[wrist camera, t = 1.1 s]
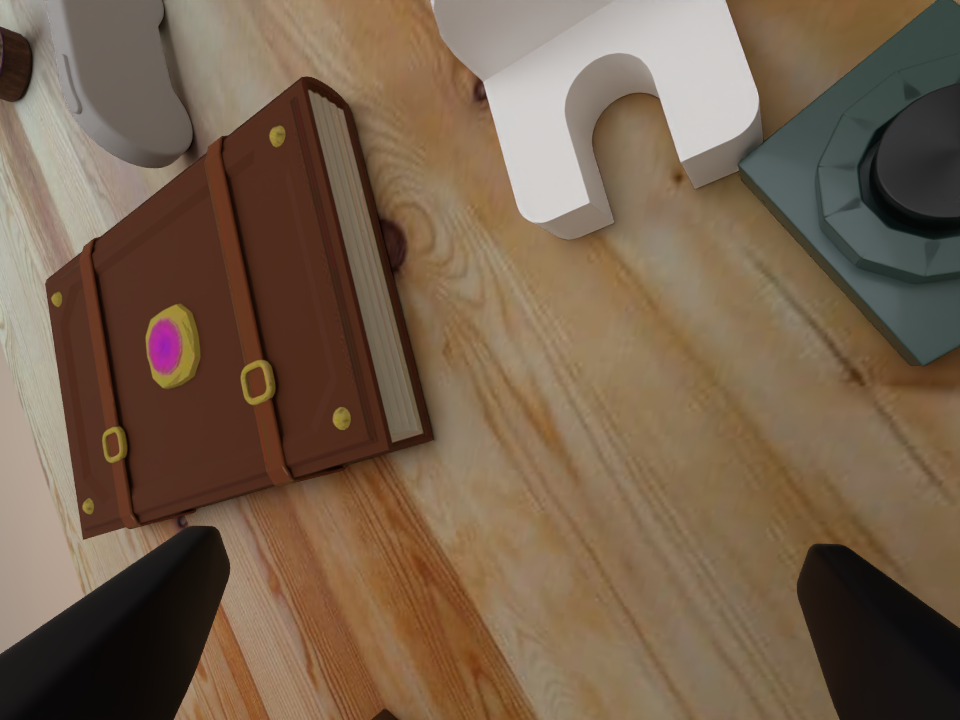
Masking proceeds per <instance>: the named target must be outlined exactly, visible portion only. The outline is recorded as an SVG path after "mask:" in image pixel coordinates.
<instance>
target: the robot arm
mask: <svg viewBox="0 0 960 720" xmlns="http://www.w3.org/2000/svg"><path fill="white" fill-rule="evenodd" d="M229 574H230V562H229V559H228V556H227V553H226V550H225V547H224V544H223V541H222V538H221V535H220V532H219V530H218V529H217V528H215V527H213V526H189V527H187V528H185V529H183V530H182V531H180V532H179V533H177V534H176V535H175V536H173V537H172V538H170V539H169V540H167V541H166V542H164V543H163V544H161V545H160V546H158V547H157V548H155V549H154V550H153V551H151V552H150V553H148V554H147V555H145V556H144V557H142V558H141V559H139V560H138V561H136V562H135V563H133V564H132V565H131V566H129V567H128V568H126V569H125V570H123V571H122V572H120V573H119V574H117V575H116V576H114V577H113V578H111V579H110V580H109V581H107V582H106V583H104V584H103V585H101V586H100V587H98V588H97V589H95V590H94V591H92V592H91V593H89V594H88V595H86V596H85V597H84V598H82V599H81V600H79V601H78V602H76V603H75V604H73V605H72V606H70V607H69V608H67V609H66V610H64V611H63V612H62V613H60V614H59V615H57V616H56V617H54V618H53V619H51V620H50V621H48V622H47V623H46V624H44V625H42V626H41V627H40V628H38V629H37V630H35V631H34V632H33V633H31V634H29V635H28V636H26V637H25V638H24V639H22V640H20V641H19V642H18V643H16V644H15V645H13V646H12V647H10V648H9V649H7V650H6V651H4V652H3V653H1V654H0V720H174V718H175V715H176V713H177V711H178V709H179V707H180V705H181V703H182V700H183V698H184V696H185V694H186V692H187V690H188V687H189V685H190V683H191V681H192V678H193V676H194V673H195V671H196V668H197V666H198V663H199V660H200V658H201V655H202V652H203V649H204V646H205V644H206V641H207V638H208V635H209V632H210V630H211V627H212V624H213V621H214V618H215V615H216V613H217V610H218V607H219V604H220V601H221V599H222V596H223V593H224V590H225V587H226V584H227V582H228V578H229ZM797 594H798V599H799V602H800V605H801V608H802V611H803V614H804V617H805V620H806V623H807V626H808V630H809V633H810V636H811V639H812V642H813V645H814V648H815V651H816V654H817V657H818V660H819V663H820V666H821V669H822V672H823V675H824V678H825V681H826V684H827V687H828V690H829V693H830V696H831V699H832V701H833V704H834V707H835V709H836V712H837V714H838V717H839V719H840V720H960V628H958V627H957V626H956V625H954V624H953V623H952V622H950V621H949V620H947V619H946V618H945V617H943V616H942V615H941V614H939V613H938V612H936V611H935V610H934V609H932V608H931V607H929V606H928V605H927V604H925V603H924V602H923V601H921V600H920V599H918V598H917V597H916V596H914V595H913V594H912V593H910V592H909V591H907V590H906V589H905V588H903V587H902V586H900V585H899V584H898V583H896V582H895V581H894V580H892V579H891V578H889V577H888V576H887V575H885V574H884V573H883V572H881V571H880V570H878V569H877V568H876V567H874V566H873V565H871V564H870V563H869V562H867V561H866V560H865V559H863V558H862V557H860V556H859V555H858V554H856V553H855V552H854V551H852V550H851V549H849V548H848V547H846V546H844V545H840V544H814V545H812V546H811V547H810V548H809V550H808V553H807V556H806V558H805V561H804V564H803V567H802V570H801V572H800V575H799V578H798V582H797Z"/></svg>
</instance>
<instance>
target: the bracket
mask: <svg viewBox="0 0 960 720" xmlns="http://www.w3.org/2000/svg"><path fill="white" fill-rule="evenodd" d="M430 1H431V4H432V8H433V12H434V15H435V19H436V22H437V26H438V29H439V32H440V36H441V38H442V39H443V41H444V42H445V43H446V45H447V46H448V47H449V49H450V50H451V51H452V53H453V54H454V55H455V56H456V57H457V58H458V59H459V60H460V61H461V62H462V63H463V64H465V65H466V66H467V67H468V68H469V69H470V70H471V71H472V72H473V73H474V74H475V75H476V76H477V77H479V78H480V79H481V80H482V81H483V83H484V87H485V90H486V94H487V98H488V101H489V105H490V108H491V112H492V116H493V119H494V123H495V127H496V130H497V134H498V138H499V141H500V145H501V149H502V152H503V156H504V160H505V163H506V167H507V171H508V174H509V178H510V182H511V185H512V189H513V192H514V196H515V200H516V203H517V207H518V209H519V211H520V213H521V214H522V216H523V217H524V218H526V219H527V220H529V221H530V222H532V223H534V224H536V225H538V226H539V227H541V228H543V229H545V230H547V231H548V232H550V233H552V234H554V235H556V236H558V237H559V238H562V239H565V240H573V239H576V238H579V237H582V236H584V235H587V234H589V233H591V232H594V231H596V230H599V229H601V228H603V227H606V226H608V225H610V224H613V223H614V219H613V216H612V212H611V209H610V206H609V202H608V199H607V196H606V192H605V189H604V186H603V182H602V179H601V176H600V172H599V169H598V166H597V162H596V159H595V156H594V152H593V147H592V135H593V130H594V127H595V124H596V122H597V120H598V118H599V117H600V115H601V113H602V112H603V111H604V110H605V109H606V108H607V107H608V106H609V105H610V104H611V103H612V102H614V101H615V100H617V99H618V98H620V97H623V96H625V95H628V94H632V93H647V94H651V95H653V96H656V97H658V98H659V99H660V100H661V104H662V107H663V110H664V113H665V116H666V119H667V122H668V125H669V128H670V131H671V134H672V138H673V141H674V144H675V147H676V150H677V153H678V156H679V159H680V162H681V164H682V166H683V168H684V170H685V172H686V173H687V175H688V177H689V179H690V181H691V183H692V185H693V187H694V189H697V188H699V187H701V186H704V185H706V184H708V183H711V182H713V181H716V180H718V179H720V178H723V177H725V176H728V175H730V174H732V173H735V172H737V171H739V168H738V162H740V161H741V160H742V159H743V158H744V157H746V156H747V155H748V154H749V153H751V152H752V151H753V150H754V149H755V148H757V147H758V146H759V145H760V144H762V143H763V132H762V122H761V113H760V104H759V97H758V92H757V89H756V86H755V83H754V80H753V77H752V75H751V72H750V69H749V66H748V63H747V60H746V58H745V55H744V52H743V49H742V46H741V43H740V41H739V38H738V35H737V32H736V29H735V26H734V24H733V21H732V18H731V15H730V12H729V9H728V7H727V4H726V1H725V0H430Z"/></svg>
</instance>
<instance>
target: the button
mask: <svg viewBox="0 0 960 720" xmlns="http://www.w3.org/2000/svg"><path fill="white" fill-rule="evenodd" d="M869 186H870V191H871V194H872V196H873V199H874V200H875V202H876V204H877V205H878V207H879V208H880V209H881V210H882V211H883V212H884V213H885V214H886V215H887V216H889V217H890V218H892V219H893V220H895V221H896V222H899V223H901V224H903V225H905V226H908V227H912V228H916V229H921V230H930V231H942V230H951V229H956V228H960V83H957V84H953V85H949V86H946V87H943V88H939V89H937V90H935V91H932V92H930V93H928V94H926V95H924V96H922V97H920V98H919V99H917V100H915V101H914V102H913V103H911V104H910V105H908V106H907V107H906V108H905V109H903V110H902V111H901V112H900V113H899V114H898V115H897V116H896V117H895V118H894V119H893V120H892V122H891V123H890V124H889V126H888V127H887V129H886V130H885V132H884V134H883V135H882V138H881V140H880V142H879V145H878V147H877V149H876V152H875V154H874V157H873V159H872V162H871V165H870V170H869Z"/></svg>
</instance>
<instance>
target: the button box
mask: <svg viewBox="0 0 960 720" xmlns="http://www.w3.org/2000/svg"><path fill="white" fill-rule="evenodd" d="M957 83H960V5H958V4H957V3H956V2H955V1H953V0H937V1H935V2H934V3H933V4H932V5H930V6H929V7H928V8H927V9H926V10H924V11H923V12H922V13H921V14H919V15H918V16H917V17H916V18H915V19H913V20H912V21H911V22H910V23H908V24H907V25H906V26H905V27H904V28H902V29H901V30H900V31H899V32H897V33H896V34H895V35H894V36H893V37H891V38H890V39H889V40H888V41H886V42H885V43H884V44H883V45H882V46H880V47H879V48H878V49H877V50H875V51H874V52H873V53H872V54H871V55H869V56H868V57H867V58H866V59H864V60H863V61H862V62H861V63H860V64H858V65H857V66H856V67H855V68H853V69H852V70H851V71H850V72H848V73H847V74H846V75H845V76H844V77H842V78H841V79H840V80H839V81H837V82H836V83H835V84H834V85H833V86H831V87H830V88H829V89H828V90H826V91H825V92H824V93H823V94H822V95H820V96H819V97H818V98H817V99H815V100H814V101H813V102H812V103H811V104H809V105H808V106H807V107H806V108H804V109H803V110H802V111H801V112H800V113H798V114H797V115H796V116H795V117H793V118H792V119H791V120H790V121H789V122H787V123H786V124H785V125H784V126H782V127H781V128H780V129H779V130H778V131H776V132H775V133H774V134H773V135H771V136H770V137H769V138H768V139H767V140H765V141H764V142H763V143H762V144H760V145H759V146H758V147H757V148H755V149H754V150H753V151H752V152H751V153H749V154H748V155H747V156H746V157H744V158H743V159H742V160H741V161H740V162H738V168H739V172H740V176H741V180H742V181H743V182H744V184H745V185H746V186H747V187H748V188H749V189H750V190H751V191H752V192H753V193H754V195H755V196H756V197H757V198H758V199H759V200H760V201H761V202H762V203H763V204H764V206H765V207H766V208H767V209H768V210H769V211H770V212H771V213H772V214H773V215H774V217H775V218H776V219H777V220H778V221H779V222H780V223H781V224H782V225H783V226H784V227H785V229H786V230H787V231H788V232H789V233H790V234H791V235H792V236H793V237H794V238H795V240H796V241H797V242H798V243H799V244H800V245H801V246H802V247H803V248H804V249H805V251H806V252H807V253H808V254H809V255H810V256H811V257H812V258H813V259H814V260H815V262H816V263H817V264H818V265H819V266H820V267H821V268H822V269H823V270H824V271H825V273H826V274H827V275H828V276H829V277H830V278H831V279H832V280H833V281H834V282H835V283H836V285H837V286H838V287H839V288H840V289H841V290H842V291H843V292H844V293H845V294H846V296H847V297H848V298H849V299H850V300H851V301H852V302H853V303H854V304H855V305H856V307H857V308H858V309H859V310H860V311H861V312H862V313H863V314H864V315H865V316H866V318H867V319H868V320H869V321H870V322H871V323H872V324H873V325H874V326H875V327H876V329H877V330H878V331H879V332H880V333H881V334H882V335H883V336H884V337H885V338H886V340H887V341H888V342H889V343H890V344H891V345H892V346H893V347H894V348H895V349H896V350H897V352H898V353H899V354H900V355H901V356H902V357H903V358H904V359H905V360H906V361H907V363H908V364H909V365H911V366H926V365H927V364H929V363H931V362H933V361H934V360H936V359H938V358H940V357H942V356H943V355H945V354H947V353H949V352H950V351H952V350H954V349H956V348H957V347H959V346H960V228H956V229H951V230H942V231H930V230H921V229H916V228H912V227H908V226H905V225H903V224H901V223H899V222H896V221H895V220H893V219H892V218H890V217H889V216H887V215H886V214H885V213H884V212H883V211H882V210H881V209H880V208H879V207H878V205H877V204H876V202H875V200H874V199H873V196H872V194H871V191H870V186H869V170H870V165H871V162H872V159H873V157H874V154H875V152H876V149H877V147H878V145H879V142H880V140H881V138H882V135H883V134H884V132H885V130H886V129H887V127H888V126H889V124H890V123H891V122H892V120H893V119H894V118H895V117H896V116H897V115H898V114H899V113H900V112H901V111H902V110H903V109H905V108H906V107H907V106H908V105H910V104H911V103H913V102H914V101H915V100H917V99H919V98H920V97H922V96H924V95H926V94H928V93H930V92H932V91H935V90H937V89H939V88H943V87H946V86H949V85H953V84H957Z"/></svg>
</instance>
